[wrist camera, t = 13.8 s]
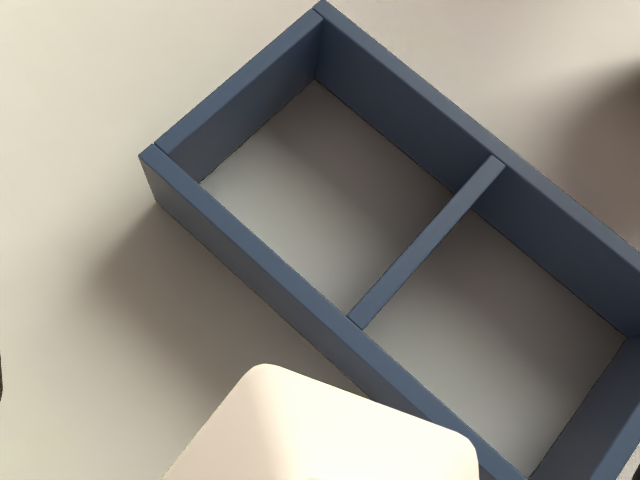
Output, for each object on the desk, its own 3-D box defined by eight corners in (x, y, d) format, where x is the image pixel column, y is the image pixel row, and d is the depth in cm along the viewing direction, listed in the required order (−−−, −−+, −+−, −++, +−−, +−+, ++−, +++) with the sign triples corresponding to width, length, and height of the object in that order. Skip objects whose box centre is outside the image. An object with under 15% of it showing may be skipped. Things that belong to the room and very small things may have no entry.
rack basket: (516, 532, 19) (572, 550, 16) (154, 201, 21) (137, 155, 18) (649, 337, 21) (721, 316, 18) (313, 60, 24) (323, -4, 20)
